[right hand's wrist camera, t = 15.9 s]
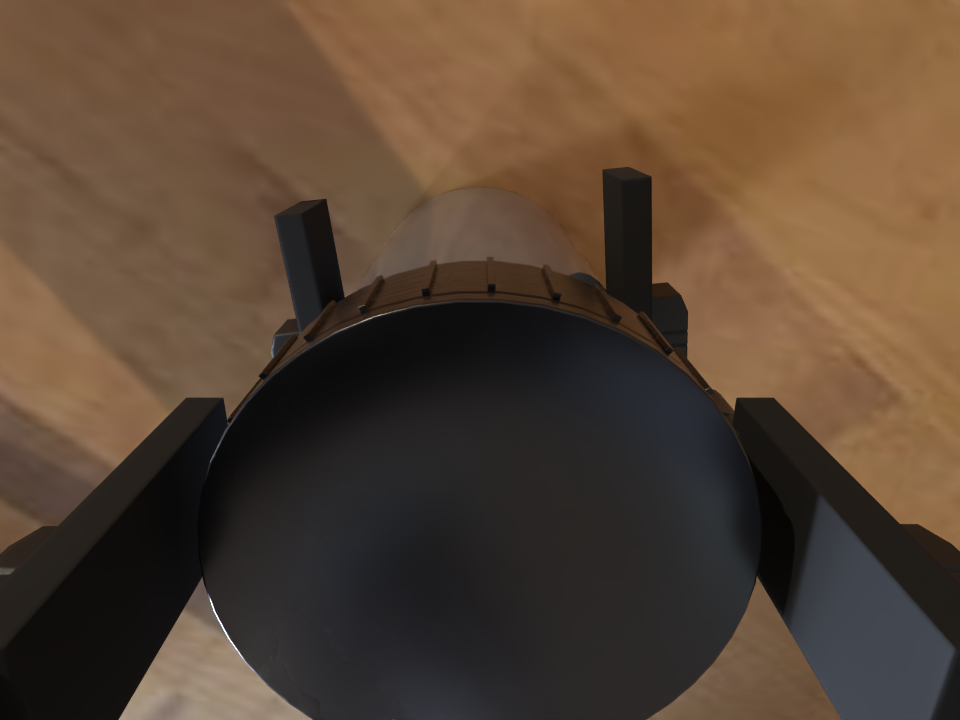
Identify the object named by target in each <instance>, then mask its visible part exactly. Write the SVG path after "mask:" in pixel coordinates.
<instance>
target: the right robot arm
mask: <svg viewBox="0 0 960 720" xmlns="http://www.w3.org/2000/svg"><path fill="white" fill-rule="evenodd" d="M227 426H228V424H227V417H226V411H225V405H224V399H223V398H186V399H185V400H184V401H183V402H182V403H181V404H180V405H179V406H178V407H177V408H176V409H175V410H174V411H173V412H172V413H171V414H170V415H169V416H168V417H167V418H166V419H165V420H164V421H163V422H162V423H161V424H160V425H159V426H158V427H157V428H156V429H155V430H154V431H153V432H152V433H151V434H150V435H149V436H148V437H147V438H146V439H145V440H144V441H143V442H142V443H141V444H140V445H139V446H138V447H137V448H136V449H135V450H134V451H133V452H132V453H131V454H130V455H129V456H128V457H127V458H126V459H125V460H124V461H123V462H122V463H121V464H120V465H119V466H118V467H117V468H116V469H115V470H114V471H113V472H112V473H111V474H110V475H109V476H108V477H107V478H106V479H105V480H104V481H103V482H102V483H101V484H100V485H99V486H98V487H97V488H96V489H95V490H94V491H93V492H92V493H91V494H90V495H89V496H88V497H87V498H86V499H85V500H84V501H83V502H82V503H81V504H80V505H79V506H78V507H77V508H76V509H75V510H74V511H73V512H72V513H71V514H70V515H69V516H68V517H67V518H66V519H65V520H64V521H63V522H62V523H61V524H60V525H59V526H43V527H41V528H39V529H38V530H36V531H34V532H33V533H31V534H29V535H27V536H26V537H24V538H22V539H21V540H19V541H17V542H16V543H14V544H12V545H10V546H9V547H8V548H7V549H6V550H5V551H3V552H2V553H1V554H0V720H118V719H119V718H120V716H121V714H122V713H123V711H124V709H125V708H126V706H127V704H128V702H129V701H130V699H131V697H132V696H133V694H134V692H135V691H136V689H137V687H138V685H139V684H140V682H141V680H142V679H143V677H144V675H145V674H146V672H147V670H148V668H149V667H150V665H151V663H152V662H153V660H154V658H155V656H156V655H157V653H158V651H159V650H160V648H161V646H162V645H163V643H164V641H165V639H166V638H167V636H168V634H169V633H170V631H171V629H172V628H173V626H174V624H175V622H176V621H177V619H178V617H179V616H180V614H181V612H182V611H183V609H184V607H185V605H186V604H187V602H188V600H189V599H190V597H191V595H192V593H193V592H194V590H195V588H196V587H197V585H198V583H199V582H200V580H201V578H202V571H201V566H200V560H199V555H198V532H197V520H198V512H199V504H200V496H201V490H202V486H203V483H204V480H205V476H206V473H207V470H208V466H209V463H210V460H211V458H212V456H213V454H214V452H215V449H216V447H217V445H218V443H219V441H220V439H221V437H222V435H223V433H224V431H225V429H226V428H227ZM732 426H733V427H734V429H735V430H736V431H737V432H738V434H739V436H740V439H739V441H740V443H741V445H742V447H743V449H744V451H745V453H746V455H747V457H748V459H749V462H750V465H751V469H752V472H753V475H754V479H755V482H756V485H757V489H758V493H759V501H760V509H761V517H762V543H761V557H760V562H759V567H758V573H757V576H758V578H759V580H760V582H761V583H762V585H763V587H764V588H765V590H766V592H767V593H768V595H769V597H770V599H771V600H772V602H773V604H774V605H775V607H776V609H777V611H778V612H779V614H780V616H781V617H782V619H783V621H784V622H785V624H786V626H787V628H788V629H789V631H790V633H791V634H792V636H793V638H794V639H795V641H796V643H797V645H798V646H799V648H800V650H801V651H802V653H803V655H804V656H805V658H806V660H807V662H808V663H809V665H810V667H811V668H812V670H813V672H814V674H815V675H816V677H817V679H818V680H819V682H820V684H821V685H822V687H823V689H824V691H825V692H826V694H827V696H828V697H829V699H830V701H831V702H832V704H833V706H834V708H835V709H836V711H837V713H838V714H839V716H840V718H841V719H842V720H960V551H959V550H957V549H956V548H955V547H954V546H953V545H952V544H951V543H949V542H947V541H945V540H944V539H942V538H940V537H939V536H937V535H935V534H933V533H932V532H930V531H928V530H927V529H925V528H923V527H922V526H920V525H918V524H899V523H898V522H897V521H896V520H895V519H894V518H893V517H892V516H891V515H890V514H889V513H888V512H887V511H886V510H885V509H884V508H883V507H882V506H881V505H880V504H879V503H878V502H877V501H876V500H875V499H874V498H873V497H872V496H871V495H870V494H869V493H868V492H867V491H866V490H865V489H864V488H863V487H862V486H861V485H860V484H859V483H858V482H857V481H856V480H855V479H854V478H853V477H852V476H851V475H850V474H849V473H848V472H847V471H846V470H845V469H844V468H843V467H842V466H841V465H840V464H839V463H838V462H837V461H836V460H835V459H834V458H833V457H832V456H831V455H830V454H829V453H828V452H827V451H826V450H825V449H824V448H823V447H822V446H821V445H820V444H819V443H818V442H817V441H816V440H815V439H814V438H813V437H812V436H811V435H810V434H809V433H808V432H807V431H806V430H805V429H804V428H803V427H802V426H801V425H800V424H799V423H798V422H797V421H796V420H795V419H794V418H793V417H792V416H791V415H790V414H789V413H788V412H787V411H786V410H785V409H784V408H783V407H782V406H781V405H780V404H779V403H778V402H777V401H776V400H775V399H774V398H737V399H736V405H735V411H734V417H733V424H732Z"/></svg>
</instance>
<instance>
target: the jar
mask: <svg viewBox="0 0 960 720" xmlns="http://www.w3.org/2000/svg"><path fill="white" fill-rule="evenodd" d="M487 257H493V259H494V261H501V262H509V263H517V264H524V265H532V266H535V267H539V268H542V267H543V264H545V265H549V266H550V268H551V271H554V272H558V273H562V274H565V275H568V276H570V277H573V278H575V279H577V280H580V281H582V282H585V283H587V284H590V285H592V286H594V285H595V283H598V284H600V285H601V286H602V287H603V289H604V290H605V292H606V293H607V294H608V292H607V291H606V289H605V288H604V286H603V285H602V283H601V282H600V281H599V279H598V278H597V276H596V275H595V273H594V272H593V270H592V269H591V267H590V266H589V264H588V263H587V261H586V260H585V258H584V257H583V255H582V254H581V253H580V251H579V250H578V248H577V247H576V245H575V244H574V242H573V241H572V239H571V238H570V236H569V235H568V234H567V232H566V231H565V229H564V228H563V227H562V225H561V224H560V223H559V222H558V221H557V220H556V219H555V218H554V217H553V216H552V215H551V214H550V213H549V212H547V211H546V210H545V209H544V208H542V207H541V206H540V205H538V204H536V203H535V202H533V201H531V200H529V199H528V198H525V197H523V196H520V195H518V194H516V193H513V192H509V191H505V190H501V189H494V188H486V187H482V188H465V189H458V190H454V191H451V192H447V193H444V194H441V195H439V196H437V197H435V198H432V199H430V200H428V201H427V202H425V203H424V204H422V205H420V206H419V207H417V208H416V209H415V210H414V211H412V212H411V213H410V214H409V215H407V216H406V217H405V219H404V220H403V221H402V222H401V223H400V224H399V225H398V226H397V227H396V229H395V230H394V232H393V233H392V235H391V236H390V237H389V239H388V240H387V242H386V243H385V245H384V246H383V248H382V249H381V251H380V252H379V254H378V255H377V257H376V258H375V260H374V261H373V262H372V264H371V265H370V267H369V268H368V270H367V271H366V273H365V274H364V276H363V277H362V279H361V280H360V282H359V283H358V285H357V286H356V288H355V289H354V290H353V292H352V293H351V294H353V293H354V292H356V291H358V290H359V289H361V288H363V287H365V286H368V285H370V284H372V283H373V282H374V280H375V278H376V277H377V276H380V275H382V276H383V278H387V277H389V276H392V275H394V274H398V273H401V272H405V271H409V270H413V269H416V268H420V267H424V266H428V265H429V263H430V261H433V260H436V261H437V264H443V263H451V262H458V261H487Z"/></svg>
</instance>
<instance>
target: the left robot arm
mask: <svg viewBox="0 0 960 720" xmlns="http://www.w3.org/2000/svg"><path fill="white" fill-rule="evenodd" d="M603 199H604V232H605V264H606V291H607V292H608V294H609V295H610V296H612V297H614V298H615V299H617V300H619V301H621V302H622V303H624V304H625V305H627V306H628V307H629V308H630V309H632V310H633V311H634V312H636V313H637V314H639V313H640V312H641V311H642V312H643V313H645V314H646V315H647V317H648V318H649V319H650V320H651V322H652V323H653V324H654V326H655V327H656V328H657V329H658V331H659V332H660V333H661V334H662V336H663V337H664V338H665V339H666V341H667V342H668V343H669V345H670V346H671V347H672V348H673V349H675V348H676V347H678V348H679V349H680V350H681V352H682V353H683V354H684V355H685V357H686V358H687V336H688V333H687V330H688V311H687V308H686V306H685V304H684V301H683V299H682V297H681V295H680V294H679V293H678V292H677V291H676V290H675V289H674V288H673V287H672V286H671V285H670V284H669V283H657V284H652V180H651V176H649V175H646V174H644V173H642V172H639V171H637V170H635V169H632V168H630V167H623V168H614V169H604V170H603ZM274 218H275V222H276V227H277V232H278V236H279V241H280V245H281V250H282V255H283V259H284V264H285V268H286V273H287V278H288V282H289V287H290V291H291V296H292V301H293V305H294V310H295V314H296V319H289V320H287V321H286V322H285V323H284V324H283V325H282V326H281V328H280V329H279V330H278V331H277V332H276V333H275V334H274V338H273V343H272V349H271V354H272V358H273V357H274V356H275V355H276V354H277V353H278V351H279V350H280V349H281V348H282V346H283V345H284V344H285V343H286V342H287V340H288V339H289V338H290V337H291V336H292V334H293V333H294V334H296V335H297V336H299V335H300V333H301V332H302V331H303V330H304V329H305V328H306V327H307V326H308V325H309V324H310V323H311V322H313V321H314V320H315V319H316V318H318V317H319V315H320V314H321V313H322V311H323V310H324V309H325V307H326V306H327V305H328V303H329V302H331V301H332V300H334V301H335V302H336V303H337V302H339V301H341V300H342V299H344V298H345V297H344V292H343V286H342V281H341V275H340V270H339V265H338V259H337V254H336V249H335V243H334V238H333V232H332V227H331V222H330V216H329V211H328V206H327V200H326V199H321V200H311V201H302V202H299V203H298V204H296V205H294V206H292V207H290V208H288V209H287V210H285V211H283V212H281V213H279V214H277V215H276V216H274ZM712 390H713V389H712ZM713 391H714V392H713V393H712V394H710V396H711V398H712V399H713V400H714V401H715V403H716V404H717V406H718V407H719V409H720V410H721V411H722V413H723V414H724V416H725V417H726V418H727V420H728V421H729V422H730V423H731V425H732V424H733V417H734V410H733V409H732V408H731V406H730V405H729V404H728V403H727V402H726V400H725V399H724V398H723V397H722V396H721V394H719V393H718V392H717V391H716V390H713Z"/></svg>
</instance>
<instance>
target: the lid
mask: <svg viewBox="0 0 960 720" xmlns="http://www.w3.org/2000/svg"><path fill="white" fill-rule="evenodd" d="M259 377H260V379H259V380H258V381H257V383H256V384H255V385H254V386H253V388H252V389H251V390H250V391H249V393H248V394H247V395H246V396H245V398H244V399H243V400H242V401H241V403H240V404H239V405H238V406H237V408H236V409H235V410H234V411H233V413H232V414H231V415H230V416H229V418H228V420H227V422H229V425H228V426H227V428H226V429H225V431H224V433H223V435H222V437H221V439H220V441H219V443H218V445H217V447H216V449H215V452H214V454H213V456H212V458H211V460H210V463H209V466H208V470H207V473H206V476H205V480H204V483H203V486H202V490H201V496H200V504H199V512H198V520H197V532H198V555H199V560H200V566H201V571H202V576H203V581H204V585H205V588H206V591H207V593H208V596H209V599H210V602H211V604H212V607H213V610H214V612H215V614H216V616H217V618H218V620H219V622H220V624H221V626H222V627H223V629H224V631H225V633H226V635H227V637H228V639H229V640H230V641H231V643H232V644H233V646H234V647H235V648H236V650H237V651H238V652H239V654H240V655H241V657H242V658H243V659H244V661H245V662H246V663H247V664H248V665H249V667H250V668H251V669H252V670H253V671H254V672H255V673H256V674H257V675H258V676H259V677H260V678H261V679H262V680H263V681H264V682H265V684H266V685H268V686H269V687H270V688H271V689H272V690H273V691H275V692H276V693H277V694H278V695H279V696H281V697H282V698H283V699H284V700H285V701H287V702H288V703H289V704H290V705H292V706H293V707H295V708H296V709H298V710H299V711H301V712H302V713H304V714H305V715H307V716H308V717H310V718H311V719H313V720H647V719H648V718H650V717H651V716H653V715H654V714H656V713H657V712H659V711H660V710H662V709H663V708H665V707H666V706H668V705H669V704H670V703H672V702H673V701H674V700H675V699H676V698H678V697H679V696H680V695H681V694H682V693H684V692H685V691H686V690H687V689H688V688H689V687H691V686H692V685H693V684H694V683H695V682H696V681H697V680H698V679H699V678H700V677H701V675H702V674H703V673H704V672H705V671H706V670H707V669H708V668H709V667H710V666H711V665H712V664H713V663H714V661H715V660H716V659H717V657H718V656H719V654H720V653H721V652H722V650H723V649H724V647H725V646H726V645H727V643H728V642H729V641H730V639H731V638H732V636H733V634H734V632H735V630H736V628H737V626H738V624H739V623H740V621H741V619H742V617H743V615H744V613H745V611H746V608H747V606H748V603H749V600H750V597H751V594H752V592H753V589H754V586H755V583H756V578H757V573H758V567H759V562H760V557H761V543H762V517H761V509H760V501H759V493H758V489H757V485H756V482H755V479H754V475H753V472H752V469H751V465H750V462H749V459H748V457H747V455H746V453H745V451H744V449H743V447H742V445H741V443H740V441H739V439H740V436H739V434H738V432H737V431H736V430H735V429H734V427H733V426H732V425H731V423H730V422H729V421H728V420H727V418H726V417H725V416H724V414H723V413H722V411H721V410H720V409H719V407H718V406H717V404H716V403H715V401H714V400H713V399H712V398H711V396H710V394H712V393H713V392H714V391H713V390H712V389H711V387H710V386H709V385H708V384H707V382H706V381H705V380H704V379H703V377H702V376H701V375H700V374H699V373H698V371H697V370H696V369H695V368H694V366H693V365H692V364H691V363H690V362H689V360H688V359H687V358H686V357H685V355H684V354H683V353H682V352H681V350H680V349H679V348H678V347H676V348H675V349H673V348H672V347H671V346H670V345H669V343H668V342H667V341H666V339H665V338H664V337H663V336H662V334H661V333H660V332H659V331H658V329H657V328H656V327H655V326H654V324H653V323H652V322H651V320H650V319H649V318H648V317H647V315H646V314H645V313H643V312H642V311H641V312H640V313H639V314H637V313H636V312H634V311H633V310H632V309H630V308H629V307H628V306H627V305H625V304H624V303H622V302H621V301H619V300H617V299H615V298H614V297H612V296H610V295H609V294H607V293H606V292H605V290H604V289H603V287H602V286H601V285H600V284H598V283H595V285H594V286H592V285H590V284H587V283H585V282H582V281H580V280H577V279H575V278H573V277H570V276H568V275H565V274H562V273H558V272H554V271H551V268H550V266H549V265H545V264H543V267H542V268H539V267H535V266H532V265H524V264H517V263H509V262H501V261H494V259H493V257H487V261H458V262H451V263H443V264H437V261H436V260H433V261H430V263H429V265H428V266H424V267H420V268H416V269H413V270H409V271H405V272H401V273H398V274H394V275H392V276H389V277H387V278H383V276H382V275H380V276H377V277H376V278H375V280H374V282H373V283H372V284H370V285H368V286H365V287H363V288H361V289H359V290H358V291H356V292H354V293H353V294H351V295H349V296H347V297H346V298H344V299H342V300H341V301H339V302H337V303H336V302H335V301H334V300H332V301H331V302H329V303H328V305H327V306H326V307H325V309H324V310H323V311H322V313H321V314H320V315H319V317H318V318H316V319H315V320H314V321H313V322H311V323H310V324H309V325H308V326H307V327H306V328H305V329H304V330H303V331H302V332H301V333H300V335H299V336H297V335H296V334H294V333H293V334H292V336H291V337H290V338H289V339H288V340H287V342H286V343H285V344H284V345H283V346H282V348H281V349H280V350H279V351H278V353H277V354H276V355H275V356H274V357H273V359H272V360H271V361H270V362H269V364H268V365H267V366H266V367H265V369H264V370H263V371H262V372H261V373H260V375H259Z"/></svg>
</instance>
